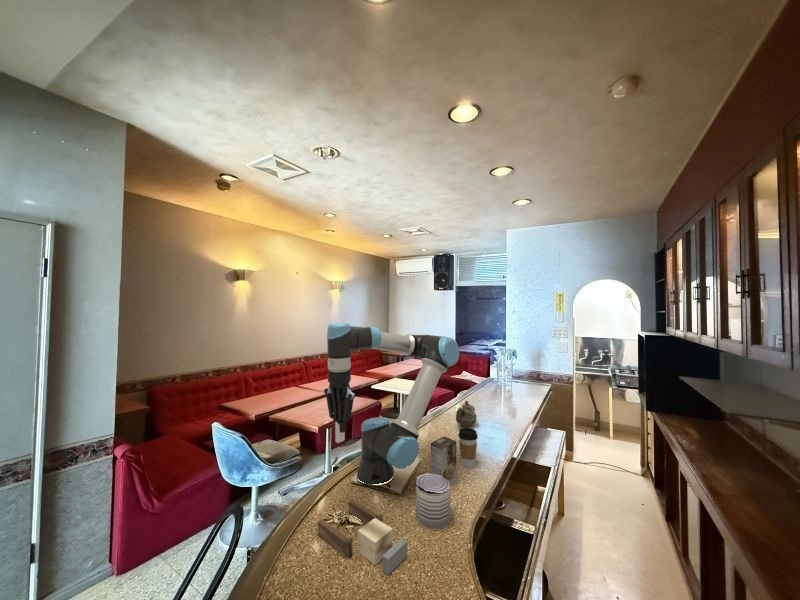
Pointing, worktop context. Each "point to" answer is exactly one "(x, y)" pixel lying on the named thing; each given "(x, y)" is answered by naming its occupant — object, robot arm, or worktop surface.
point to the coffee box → (444, 459)
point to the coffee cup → (468, 446)
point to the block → (374, 540)
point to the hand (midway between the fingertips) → (340, 440)
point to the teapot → (466, 415)
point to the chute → (345, 542)
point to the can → (432, 501)
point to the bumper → (394, 556)
